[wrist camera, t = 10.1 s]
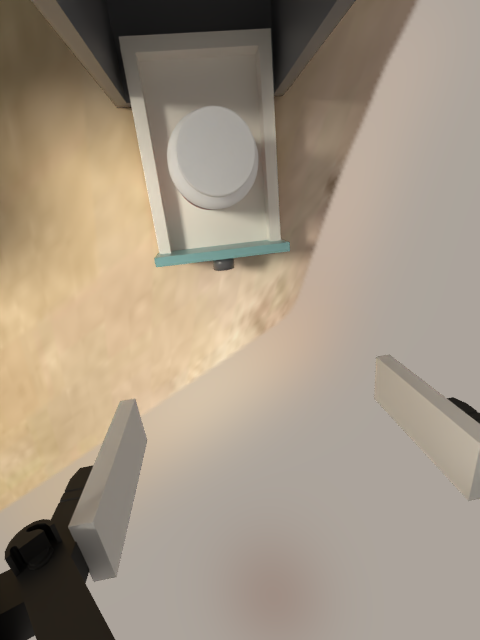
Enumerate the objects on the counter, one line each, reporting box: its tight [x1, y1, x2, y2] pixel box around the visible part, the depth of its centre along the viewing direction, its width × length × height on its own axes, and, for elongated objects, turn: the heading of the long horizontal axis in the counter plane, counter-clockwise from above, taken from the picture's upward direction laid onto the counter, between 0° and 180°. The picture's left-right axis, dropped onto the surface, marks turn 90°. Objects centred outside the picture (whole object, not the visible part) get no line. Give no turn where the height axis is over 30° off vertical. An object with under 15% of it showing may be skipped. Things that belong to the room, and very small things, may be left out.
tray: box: [119, 28, 290, 271], centre depth 26 cm, size 18×12×4 cm, turn 6°
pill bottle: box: [167, 106, 258, 210], centre depth 23 cm, size 6×6×11 cm
